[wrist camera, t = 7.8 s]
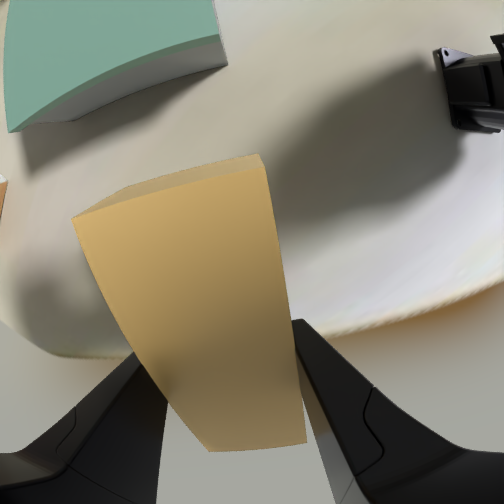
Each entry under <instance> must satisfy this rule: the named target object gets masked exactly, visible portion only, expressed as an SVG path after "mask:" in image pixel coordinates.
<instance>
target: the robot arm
mask: <svg viewBox="0 0 504 504" xmlns="http://www.w3.org/2000/svg"><path fill="white" fill-rule="evenodd" d="M490 38H491V40H492V42H493V44H495V46H496V48H497V50H498V52H499V53H495V54H486V55H478V56H473V55H470V54H467V53H463V52H460V51H457V50H453V49H449V48H445V47H443V48H440V49H439V56H440V60H441V64H442V68H443V72H444V77H445V82H446V87H447V93H448V99H449V105H450V113H451V121H452V125H453V127H454V128H455V129H462V130H476V131H487V132H496V133H500V131H501V129H502V130H504V33H503V34H498V35H493V36H490ZM444 52H445V54H446V55H445V54H444ZM457 121H458V124H457ZM291 322H292V329H293V336H294V343H295V355H296V363H297V370H298V377H299V385H300V391H301V394H302V398H303V401H304V404H305V407H306V410H307V413H308V416H309V420H310V423H311V426H312V429H313V433H314V436H315V439H316V442H317V445H318V448H319V452H320V455H321V458H322V461H323V464H324V467H325V471H326V474H327V477H328V480H329V483H330V486H331V490H332V493H333V496H334V499H335V502H336V504H504V453H502V452H486V451H476V450H470V449H465V448H462V447H460V446H457V445H455V444H453V443H451V442H450V441H448V440H446V439H445V438H443V437H442V436H440V435H438V434H437V433H435V432H434V431H432V430H431V429H429V428H428V427H426V426H425V425H423V424H422V423H420V422H419V421H417V420H416V419H414V418H413V417H412V416H410V415H409V414H407V413H406V412H405V411H403V410H402V409H401V408H399V407H398V406H397V405H396V404H394V403H393V402H392V401H391V400H389V399H388V398H387V397H386V396H385V395H384V394H383V393H382V392H381V391H380V390H379V389H377V388H376V387H373V386H374V385H373V384H372V383H371V382H370V381H369V380H367V378H365V377H364V376H363V375H362V374H361V373H360V372H359V371H358V370H357V369H356V368H355V367H354V366H353V365H352V364H350V363H349V362H348V361H347V360H346V359H345V358H344V357H343V356H342V355H341V354H340V353H339V352H338V351H337V350H335V348H333V347H332V346H331V345H330V344H329V343H328V342H327V341H326V340H325V339H324V338H323V337H322V336H321V335H320V334H319V333H318V332H317V331H316V330H314V329H313V328H312V327H311V326H310V325H309V324H308V323H307V322H306V321H305V320H304V319H296V320H291ZM167 406H168V400H167V399H166V398H165V396H164V395H163V393H162V392H161V391H160V389H159V388H158V386H157V385H156V383H155V382H154V381H153V379H152V378H151V376H150V375H149V373H148V372H147V370H146V369H145V367H144V365H143V364H142V363H141V362H140V360H139V359H138V357H137V356H136V354H135V352H133V353H132V354H131V355H129V356H128V357H127V358H126V359H125V360H124V361H123V362H122V363H121V364H120V365H119V366H118V367H116V369H114V370H113V371H112V372H111V373H110V374H109V375H108V376H107V377H106V378H105V379H104V380H103V381H101V382H100V383H99V384H98V385H97V386H96V387H95V388H94V389H93V390H92V391H91V392H90V393H89V394H88V395H87V396H85V397H84V398H83V399H82V400H81V401H80V402H79V403H78V404H77V405H76V406H75V407H74V408H72V409H71V410H70V411H69V412H68V413H67V414H66V415H65V416H64V417H63V418H62V419H60V420H59V421H58V422H57V423H56V424H55V425H53V426H52V427H51V428H50V429H48V430H47V431H46V432H45V433H43V434H42V435H41V436H40V437H38V438H37V439H36V440H34V441H33V442H32V443H31V444H29V445H28V446H27V447H26V448H24V449H22V450H20V451H17V452H14V453H0V504H156V498H157V487H158V476H159V467H160V457H161V450H162V441H163V433H164V427H165V420H166V413H167Z"/></svg>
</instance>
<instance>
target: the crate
mask: <svg viewBox="0 0 504 504" xmlns="http://www.w3.org/2000/svg"><path fill="white" fill-rule="evenodd" d="M211 1H212V5H213V9H214V14H215V18H216V22H217V27H218V31H219V35H220V40H221V41H220V42H216V43H211V44H207V45H203V46H199V47H195V48H191V49H188V50H184V51H181V52H177V53H174V54H171V55H168V56H165V57H162V58H159V59H156V60H153V61H150V62H147V63H145V64H142V65H139V66H137V67H134V68H132V69H129V70H127V71H124V72H122V73H120V74H118V75H115V76H113V77H111V78H109V79H107V80H104V81H102V82H100V83H98V84H96V85H94V86H92V87H90V88H88V89H86V90H84V91H83V92H81V93H79V94H77V95H75V96H73V97H72V98H70V99H68V100H66V101H65V102H63V103H61V104H60V105H58V106H56V107H55V108H53V109H52V110H50V111H49V112H47V113H45V114H44V115H42V116H41V117H39V118H38V119H36V120H35V121H34V122H32V123H31V124H38V123H49V122H63V121H74V120H76V119H78V118H80V117H82V116H84V115H86V114H88V113H90V112H92V111H94V110H96V109H98V108H100V107H102V106H104V105H106V104H109V103H111V102H113V101H115V100H118V99H120V98H123V97H125V96H127V95H130V94H132V93H135V92H137V91H140V90H143V89H145V88H148V87H151V86H154V85H157V84H160V83H163V82H166V81H169V80H172V79H175V78H178V77H182V76H185V75H189V74H192V73H196V72H200V71H204V70H208V69H212V68H216V67H220V66H225V65H228V62H227V57H226V53H225V48H224V44H223V40H222V35H221V31H220V27H219V23H218V18H217V14H216V10H215V6H214V1H213V0H211Z"/></svg>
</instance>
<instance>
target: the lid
mask: <svg viewBox="0 0 504 504" xmlns="http://www.w3.org/2000/svg"><path fill="white" fill-rule="evenodd" d="M220 41H221V40H220V35H219V31H218V27H217V22H216V18H215V14H214V9H213V5H212V1H211V0H10V4H9V9H8V16H7V23H6V31H5V43H4V67H3V74H4V99H5V111H6V120H7V128H8V133H13V132H19V131H21V130H22V129H24V128H25V127H27V126H28V125H29V124H31V123H32V122H34V121H35V120H36V119H38V118H39V117H41V116H42V115H44V114H45V113H47V112H49V111H50V110H52V109H53V108H55V107H56V106H58V105H60V104H61V103H63V102H65V101H66V100H68V99H70V98H72V97H73V96H75V95H77V94H79V93H81V92H83V91H84V90H86V89H88V88H90V87H92V86H94V85H96V84H98V83H100V82H102V81H104V80H107V79H109V78H111V77H113V76H115V75H118V74H120V73H122V72H124V71H127V70H129V69H132V68H134V67H137V66H139V65H142V64H145V63H147V62H150V61H153V60H156V59H159V58H162V57H165V56H168V55H171V54H174V53H177V52H181V51H184V50H188V49H191V48H195V47H199V46H203V45H207V44H211V43H216V42H220Z"/></svg>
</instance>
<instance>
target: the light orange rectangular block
mask: <svg viewBox="0 0 504 504" xmlns="http://www.w3.org/2000/svg"><path fill="white" fill-rule="evenodd" d="M71 220H72V223H73V226H74V229H75V231H76V234H77V237H78V239H79V242H80V245H81V247H82V250H83V252H84V254H85V257H86V259H87V262H88V264H89V266H90V268H91V271H92V273H93V275H94V277H95V280H96V282H97V284H98V286H99V288H100V290H101V292H102V294H103V296H104V298H105V300H106V302H107V304H108V306H109V308H110V310H111V312H112V314H113V316H114V318H115V319H116V321H117V323H118V325H119V327H120V329H121V330H122V332H123V334H124V336H125V337H126V339H127V341H128V342H129V344H130V346H131V347H132V349H133V351H134V352H135V354H136V356H137V357H138V359H139V360H140V362H141V363H142V364H143V365H144V367H145V369H146V370H147V372H148V373H149V375H150V376H151V378H152V379H153V381H154V382H155V383H156V385H157V386H158V388H159V389H160V391H161V392H162V393H163V395H164V396H165V398H166V399H167V400H168V403H169V404H170V405H171V407H172V408H173V409H174V410H175V412H176V413H177V414H178V415H179V417H180V418H181V419H182V421H183V422H184V423H185V424H186V426H187V427H188V428H189V429H190V430H191V432H192V433H193V434H194V435H195V436H196V438H197V439H198V440H199V441H200V442H201V443H202V444H203V446H204V447H205V448H206V449H207V450H208V451H209V452H223V451H245V450H257V449H268V448H276V447H284V446H291V445H297V444H303V443H307V437H306V429H305V420H304V412H303V403H302V395H301V391H300V385H299V377H298V370H297V363H296V355H295V343H294V336H293V329H292V322H291V316H290V309H289V303H288V296H287V290H286V284H285V277H284V271H283V265H282V259H281V253H280V247H279V242H278V236H277V230H276V224H275V219H274V213H273V208H272V202H271V197H270V192H269V186H268V181H267V176H266V171H265V166H264V164H263V162H262V160H261V158H260V156H259V154H253V155H248V156H243V157H238V158H233V159H228V160H224V161H219V162H215V163H211V164H206V165H202V166H198V167H194V168H190V169H186V170H182V171H179V172H175V173H171V174H168V175H164V176H161V177H157V178H154V179H150V180H147V181H144V182H140V183H137V184H134V185H131V186H128V187H125V188H123V189H122V190H120V191H118V192H116V193H114V194H112V195H111V196H109V197H107V198H105V199H104V200H102V201H100V202H98V203H97V204H95V205H93V206H92V207H90V208H88V209H87V210H85V211H83V212H82V213H80V214H78V215H77V216H75V217H74V218H72V219H71Z"/></svg>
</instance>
